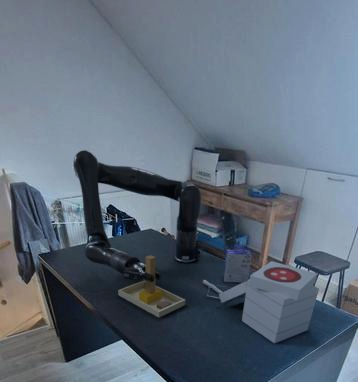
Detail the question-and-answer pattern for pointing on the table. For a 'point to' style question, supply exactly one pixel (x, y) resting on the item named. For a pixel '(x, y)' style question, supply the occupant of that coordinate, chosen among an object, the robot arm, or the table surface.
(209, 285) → the crossbow
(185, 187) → the robot arm
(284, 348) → the table surface
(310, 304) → the pizza boxes
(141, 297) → the peg stand
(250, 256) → the ink cartridge box
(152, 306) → the tray
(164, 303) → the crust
